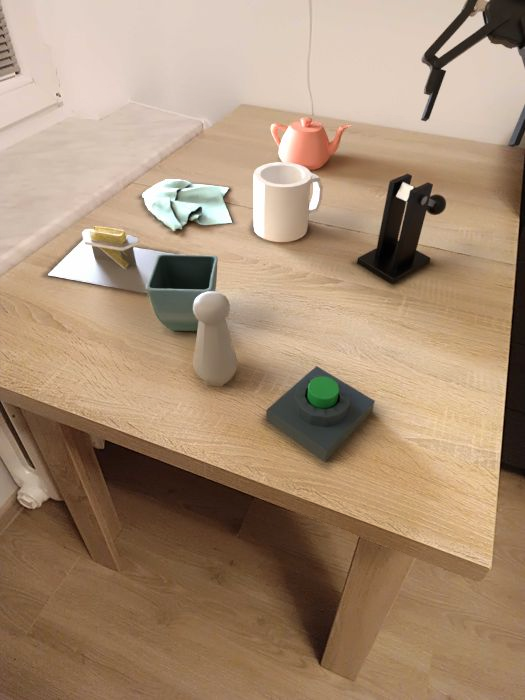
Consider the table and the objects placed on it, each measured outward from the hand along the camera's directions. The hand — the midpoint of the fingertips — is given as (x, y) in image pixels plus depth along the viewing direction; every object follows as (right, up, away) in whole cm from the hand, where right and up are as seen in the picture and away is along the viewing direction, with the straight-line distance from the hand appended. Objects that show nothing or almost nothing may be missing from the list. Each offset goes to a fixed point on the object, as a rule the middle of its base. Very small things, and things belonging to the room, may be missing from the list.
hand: (468, 132), depth 74 cm
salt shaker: (-37, -36, -7) cm, 52 cm away
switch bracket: (-8, -17, +13) cm, 23 cm away
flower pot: (-42, -28, +1) cm, 50 cm away
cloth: (-46, -3, +27) cm, 53 cm away
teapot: (-20, +12, +44) cm, 50 cm away
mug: (-26, -9, +22) cm, 35 cm away
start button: (-23, -38, -14) cm, 47 cm away
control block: (-24, -41, -12) cm, 48 cm away
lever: (-5, -9, +8) cm, 13 cm away
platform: (-56, -18, +12) cm, 60 cm away
